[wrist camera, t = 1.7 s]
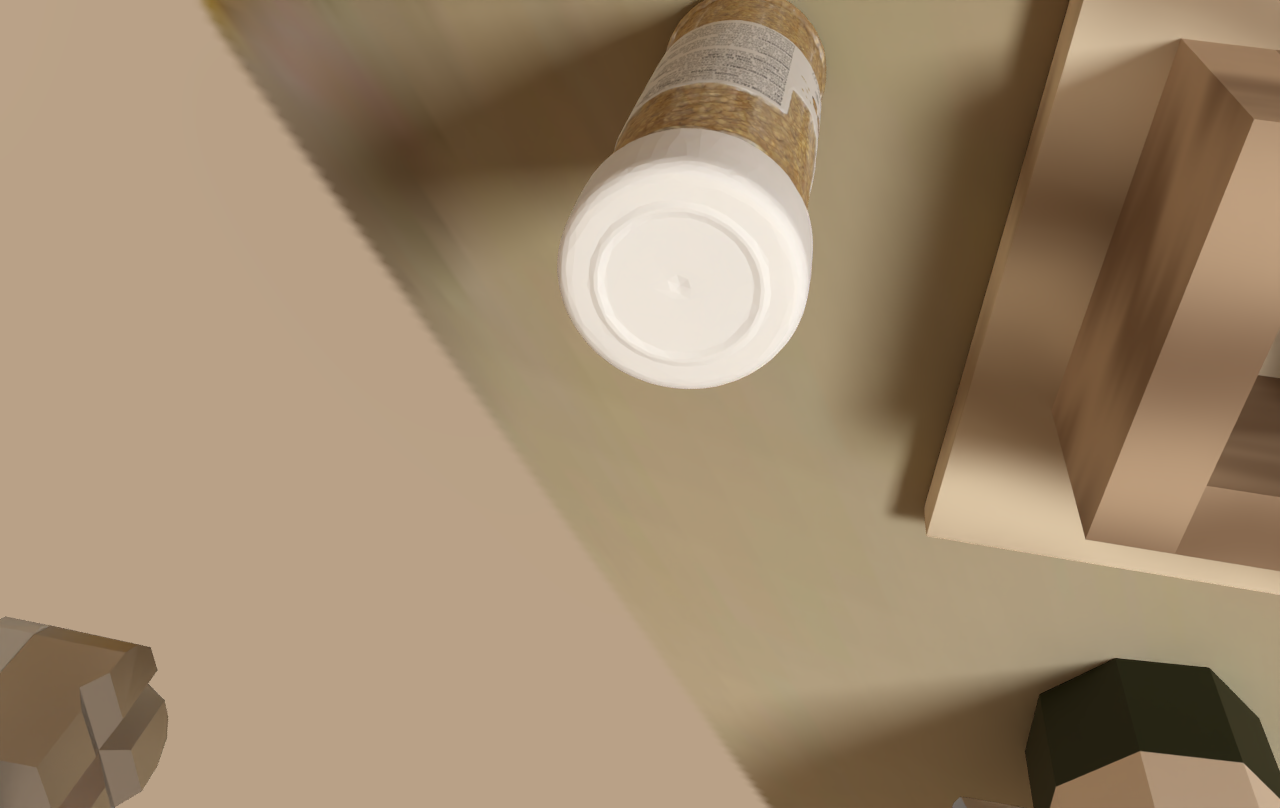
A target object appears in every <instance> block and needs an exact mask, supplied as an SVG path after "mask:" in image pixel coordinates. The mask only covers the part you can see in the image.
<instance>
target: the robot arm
mask: <svg viewBox="0 0 1280 808" xmlns="http://www.w3.org/2000/svg"><path fill="white" fill-rule="evenodd" d="M156 672H157V667H156V664H155V661H154V657H153V654H152V650H151V648H150V647H147V646H143V645H138V644H133V643H129V642H124V641H120V640H115V639H110V638H106V637H101V636H97V635H92V634H88V633H83V632H78V631H73V630H69V629H64V628H60V627H55V626H51V625H45V624H40V623H35V622H29V621H25V620H20V619H15V618H10V617H4V618H2V619H0V808H115V807H116V806H118V805H119V804H121V803H123V802H124V801H126V800H128V799H129V798H131V797H133V796H134V795H136V794H138V793H139V792H141V791H142V790H143V788H144V787H145V785H146V783H147V782H148V780H149V779H150V777H151V775H152V774H153V772H154V771H155V769H156V767H157V765H158V762H159V759H160V757H161V754H162V751H163V748H164V745H165V742H166V739H167V727H168V715H167V709H166V705H165V700H164V699H163V698H162V697H161V696H160V695H159V694H158V693H157V692H156V691H155V690H154V689H153V688H152V687H151V686H150V685H149V684H148V683H149V681H150V680H151V679H152V677H153V676H154V674H155V673H156ZM952 808H1024V807H1019V806H1013V805H1007V804H1001V803H995V802H990V801H984V800H978V799H972V798H967V797H961V796H960V797H959V798H958V799H957V800H956V801H955V802H954V804H953V807H952Z"/></svg>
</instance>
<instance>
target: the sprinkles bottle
mask: <svg viewBox="0 0 1280 808" xmlns="http://www.w3.org/2000/svg"><path fill="white" fill-rule="evenodd" d="M825 83H826V58H825V52H824V48H823V45H822V43H821V41H820V38H819V36H818V34H817V32H816V30H815V28H814V26H813V25H812V24H811V23H810V22H809V21H808V19H807V18H806V16H805V15H804V14H803V13H802V12H801V11H800V10H799V9H797V8H796V7H795V6H794V5H793V4H791V3H790V2H788V1H786V0H704V1H702V2H700V3H699V4H697V5H696V6H695V7H693V8H692V9H691V10H690V11H689V12H688V13H687V14H686V15H685V16H684V17H683V18H682V19H681V21H680V22H679V24H678V25H677V27H676V28H675V30H674V32H673V34H672V36H671V38H670V40H669V43H668V46H667V50H666V53H665V55H664V56H663V58H662V59H661V61H660V62H659V64H658V66H657V68H656V69H655V71H654V73H653V75H652V76H651V78H650V80H649V82H648V83H647V85H646V87H645V89H644V91H643V92H642V94H641V96H640V97H639V99H638V101H637V103H636V105H635V107H634V108H633V110H632V112H631V114H630V116H629V118H628V120H627V122H626V123H625V125H624V127H623V129H622V131H621V133H620V135H619V137H618V139H617V142H616V145H615V149H614V152H613V154H612V155H611V156H609V157H608V158H607V159H606V160H605V161H604V162H603V163H602V164H601V165H600V166H599V167H598V168H597V170H596V171H595V172H594V173H593V174H592V176H591V177H590V179H589V180H588V182H587V184H586V185H585V187H584V189H583V190H582V192H581V194H580V196H579V197H578V199H577V201H576V203H575V205H574V207H573V209H572V211H571V214H570V216H569V218H568V220H567V223H566V226H565V228H564V231H563V234H562V237H561V241H560V245H559V251H558V266H557V272H558V281H559V287H560V292H561V296H562V299H563V303H564V305H565V308H566V311H567V313H568V315H569V317H570V319H571V321H572V322H573V324H574V326H575V328H576V329H577V331H578V332H579V333H580V335H581V336H582V337H583V339H584V340H585V341H586V342H587V343H588V344H589V346H590V347H591V348H592V349H593V350H594V351H595V352H596V353H597V354H598V355H600V356H601V357H602V358H603V359H605V360H606V361H607V362H609V363H610V364H611V365H613V366H614V367H616V368H617V369H619V370H621V371H622V372H624V373H626V374H628V375H630V376H632V377H635V378H637V379H640V380H642V381H645V382H648V383H651V384H655V385H659V386H664V387H670V388H680V389H701V388H709V387H716V386H720V385H723V384H727V383H730V382H733V381H736V380H739V379H741V378H743V377H745V376H747V375H749V374H751V373H752V372H754V371H756V370H758V369H759V368H761V367H762V366H764V365H765V364H766V363H767V362H769V361H770V360H771V359H772V358H773V357H774V356H775V355H776V354H777V353H778V352H779V351H780V350H781V349H782V348H783V347H784V346H785V345H786V343H787V342H788V341H789V340H790V338H791V337H792V335H793V334H794V332H795V330H796V328H797V326H798V324H799V322H800V320H801V317H802V315H803V312H804V309H805V306H806V302H807V297H808V292H809V285H810V278H811V268H812V255H813V237H812V227H811V223H810V219H809V215H808V211H807V208H808V202H809V195H810V191H811V187H812V183H813V178H814V172H815V165H816V154H817V147H818V137H819V128H820V118H821V99H822V96H823V93H824V90H825Z"/></svg>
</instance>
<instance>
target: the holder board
mask: <svg viewBox="0 0 1280 808" xmlns="http://www.w3.org/2000/svg"><path fill="white" fill-rule="evenodd" d="M924 512H925V525H926V536H929V537H935V538H941V539H947V540H953V541H959V542H965V543H971V544H977V545H983V546H989V547H995V548H1001V549H1007V550H1013V551H1019V552H1025V553H1031V554H1037V555H1043V556H1049V557H1055V558H1061V559H1067V560H1073V561H1079V562H1085V563H1091V564H1097V565H1103V566H1109V567H1116V568H1122V569H1128V570H1134V571H1140V572H1146V573H1152V574H1158V575H1164V576H1170V577H1176V578H1182V579H1188V580H1194V581H1200V582H1206V583H1212V584H1218V585H1224V586H1230V587H1236V588H1242V589H1248V590H1254V591H1260V592H1266V593H1272V594H1278V595H1280V0H1070V1H1069V5H1068V8H1067V12H1066V15H1065V19H1064V22H1063V26H1062V29H1061V33H1060V36H1059V39H1058V43H1057V46H1056V50H1055V53H1054V57H1053V60H1052V64H1051V67H1050V71H1049V74H1048V78H1047V81H1046V85H1045V88H1044V92H1043V95H1042V99H1041V102H1040V106H1039V109H1038V113H1037V116H1036V120H1035V123H1034V127H1033V130H1032V134H1031V137H1030V141H1029V144H1028V148H1027V151H1026V155H1025V158H1024V162H1023V165H1022V168H1021V172H1020V175H1019V179H1018V182H1017V186H1016V189H1015V193H1014V196H1013V200H1012V203H1011V207H1010V210H1009V214H1008V217H1007V221H1006V224H1005V228H1004V231H1003V235H1002V238H1001V242H1000V245H999V249H998V252H997V256H996V259H995V263H994V266H993V270H992V273H991V277H990V280H989V284H988V287H987V290H986V294H985V297H984V301H983V304H982V308H981V311H980V315H979V318H978V322H977V325H976V329H975V332H974V336H973V339H972V343H971V346H970V350H969V353H968V357H967V360H966V364H965V367H964V371H963V374H962V378H961V381H960V385H959V388H958V392H957V395H956V399H955V402H954V406H953V409H952V413H951V416H950V419H949V423H948V426H947V430H946V433H945V437H944V440H943V444H942V447H941V451H940V454H939V458H938V461H937V465H936V468H935V472H934V475H933V479H932V482H931V486H930V489H929V493H928V496H927V500H926V503H925V507H924Z"/></svg>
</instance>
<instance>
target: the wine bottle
mask: <svg viewBox="0 0 1280 808" xmlns="http://www.w3.org/2000/svg"><path fill="white" fill-rule="evenodd" d="M1025 754H1026V761H1027V767H1028V774H1029V780H1030V787H1031V793H1032V799H1033V806H1034V808H1280V771H1279V768H1278V766H1277V763H1276V761H1275V758H1274V756H1273V753H1272V750H1271V748H1270V745H1269V743H1268V740H1267V737H1266V735H1265V732H1264V730H1263V727H1262V724H1261V722H1260V719H1259V718H1258V717H1257V716H1256V715H1255V714H1254V713H1253V712H1252V711H1251V710H1250V709H1249V708H1248V707H1247V706H1246V705H1245V704H1244V703H1243V702H1242V701H1241V700H1240V698H1239V697H1238V696H1237V695H1236V694H1235V693H1234V692H1233V691H1232V690H1231V689H1230V688H1229V687H1228V686H1227V685H1226V684H1225V683H1224V682H1223V681H1222V680H1221V679H1220V678H1219V677H1218V676H1217V675H1216V674H1215V673H1214V672H1213V671H1212V670H1211V669H1210V668H1204V667H1194V666H1184V665H1174V664H1164V663H1154V662H1145V661H1135V660H1125V659H1114V660H1112V661H1109V662H1107V663H1105V664H1103V665H1101V666H1099V667H1097V668H1095V669H1093V670H1091V671H1088V672H1086V673H1084V674H1082V675H1080V676H1078V677H1076V678H1074V679H1072V680H1070V681H1068V682H1065V683H1063V684H1061V685H1059V686H1057V687H1055V688H1053V689H1051V690H1049V691H1047V692H1044V693H1042V694H1040V695H1039V699H1038V703H1037V707H1036V710H1035V714H1034V718H1033V722H1032V726H1031V730H1030V734H1029V738H1028V742H1027V746H1026V750H1025Z"/></svg>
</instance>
